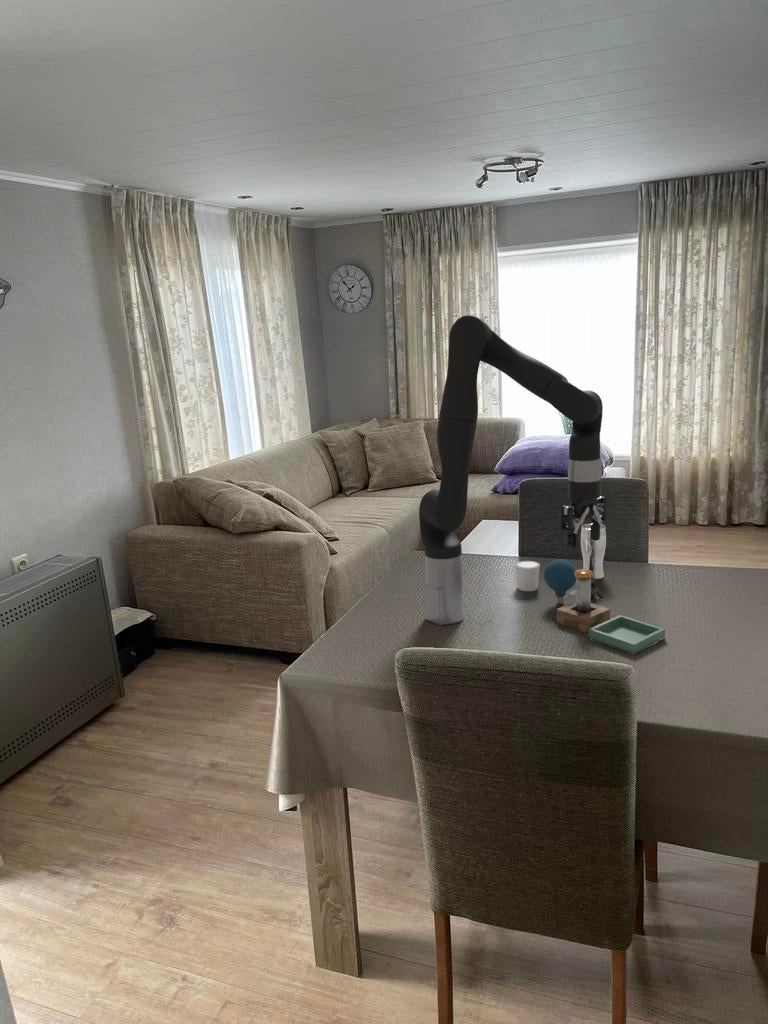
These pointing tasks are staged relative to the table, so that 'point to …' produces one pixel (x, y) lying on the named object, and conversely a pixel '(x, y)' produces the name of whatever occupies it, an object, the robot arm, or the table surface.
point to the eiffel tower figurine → (593, 587)
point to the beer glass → (593, 550)
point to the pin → (583, 590)
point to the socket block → (582, 616)
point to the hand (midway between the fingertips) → (584, 543)
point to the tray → (626, 634)
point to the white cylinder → (527, 575)
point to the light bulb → (560, 577)
